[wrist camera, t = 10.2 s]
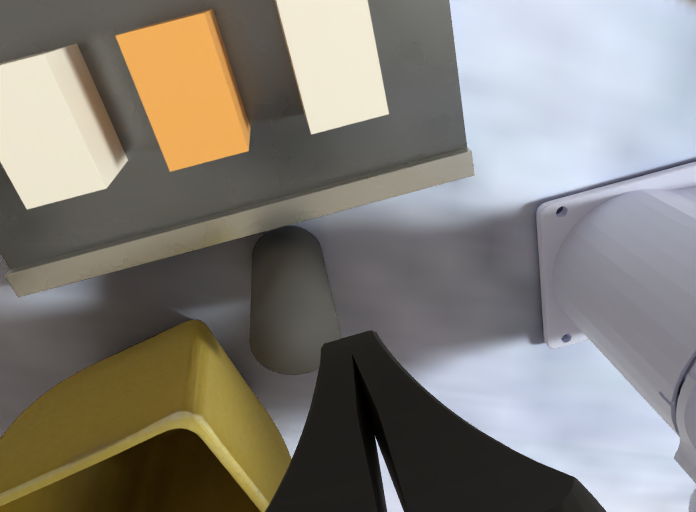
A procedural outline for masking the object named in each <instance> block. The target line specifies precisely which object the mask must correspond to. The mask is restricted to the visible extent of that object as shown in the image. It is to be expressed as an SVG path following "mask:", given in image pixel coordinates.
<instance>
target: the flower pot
mask: <svg viewBox="0 0 696 512" xmlns="http://www.w3.org/2000/svg"><path fill="white" fill-rule="evenodd" d="M290 462H291V456H290V454H289V451H288V449H287V446H286V444H285V442H284V440H283V438H282V436H281V434H280V432H279V430H278V429H277V427H276V425H275V423H274V422H273V420H272V419H271V417H270V416H269V414H268V413H267V411H266V410H265V408H264V407H263V406H262V404H261V403H260V401H259V400H258V399H257V397H256V396H255V394H254V393H253V391H252V390H251V389H250V387H249V386H248V384H247V383H246V382H245V380H244V379H243V377H242V376H241V374H240V373H239V371H238V370H237V369H236V367H235V366H234V364H233V363H232V361H231V360H230V359H229V357H228V356H227V354H226V353H225V351H224V350H223V348H222V347H221V345H220V344H219V342H218V341H217V340H216V338H215V337H214V335H213V334H212V332H211V331H210V329H209V328H208V327H207V325H206V324H205V323H203V322H202V321H201V320H189V321H185V322H183V323H181V324H179V325H177V326H175V327H173V328H171V329H168V330H166V331H164V332H162V333H160V334H158V335H156V336H154V337H152V338H149V339H147V340H145V341H143V342H141V343H139V344H137V345H134V346H132V347H130V348H128V349H126V350H123V351H121V352H119V353H117V354H115V355H112V356H110V357H108V358H105V359H103V360H101V361H99V362H97V363H95V364H93V365H91V366H89V367H87V368H85V369H83V370H81V371H79V372H77V373H76V374H74V375H72V376H70V377H69V378H67V379H65V380H64V381H62V382H61V383H59V384H58V385H56V386H55V387H53V388H52V389H50V390H49V391H47V392H46V393H45V394H44V395H42V396H41V397H40V398H38V399H37V400H36V401H35V402H34V403H32V404H31V405H30V406H29V407H28V408H27V409H26V410H25V411H24V412H23V413H22V414H21V415H20V416H19V417H18V418H17V419H16V420H15V421H14V422H13V424H12V425H11V426H10V427H9V428H8V430H7V431H6V432H5V433H4V435H3V436H2V437H1V438H0V512H265V510H266V509H267V507H268V506H269V504H270V502H271V500H272V498H273V497H274V495H275V493H276V491H277V489H278V487H279V485H280V483H281V481H282V479H283V477H284V475H285V473H286V471H287V469H288V467H289V464H290Z"/></svg>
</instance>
